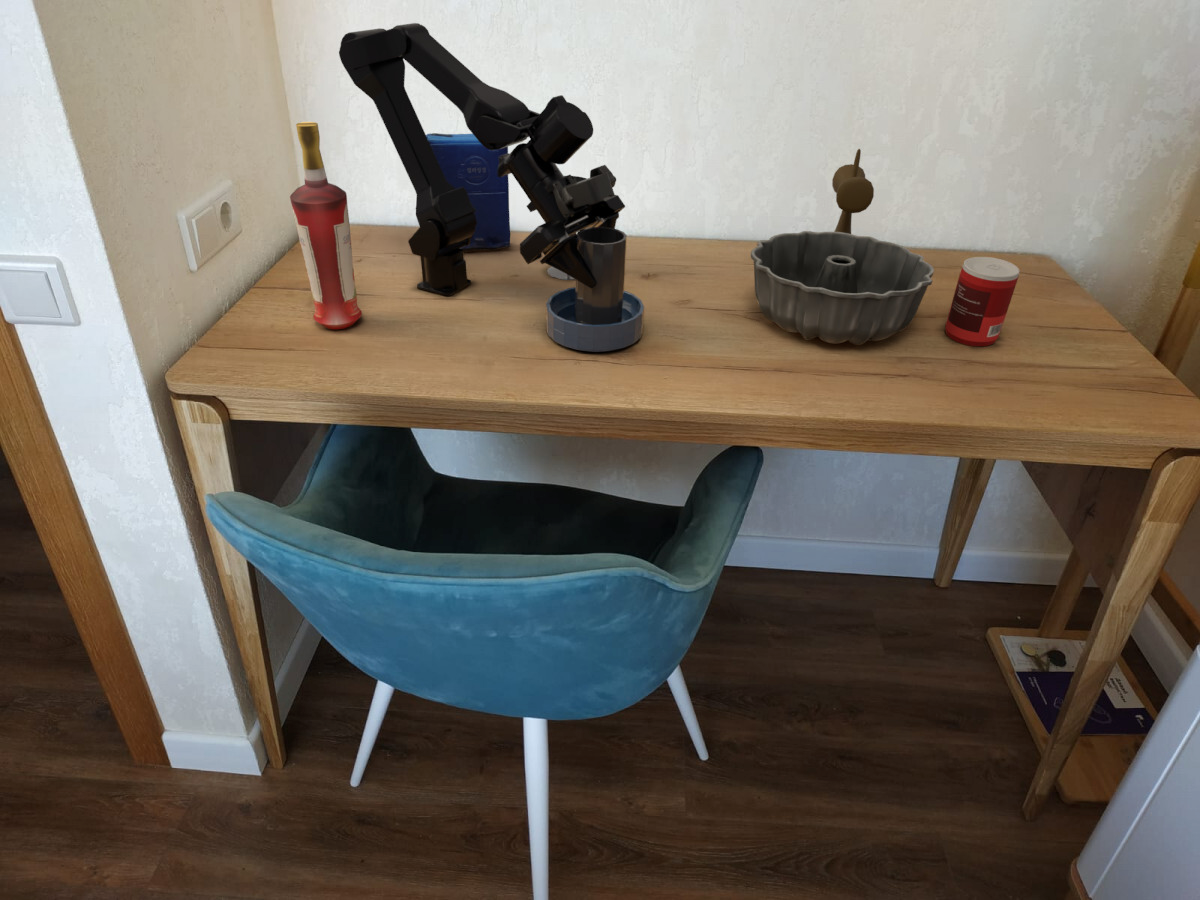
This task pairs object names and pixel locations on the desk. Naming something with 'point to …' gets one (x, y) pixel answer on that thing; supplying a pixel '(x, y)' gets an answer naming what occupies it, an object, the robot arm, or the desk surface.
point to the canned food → (981, 300)
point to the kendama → (851, 192)
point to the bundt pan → (838, 285)
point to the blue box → (477, 185)
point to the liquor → (325, 237)
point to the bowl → (592, 336)
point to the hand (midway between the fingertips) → (608, 278)
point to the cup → (601, 276)
